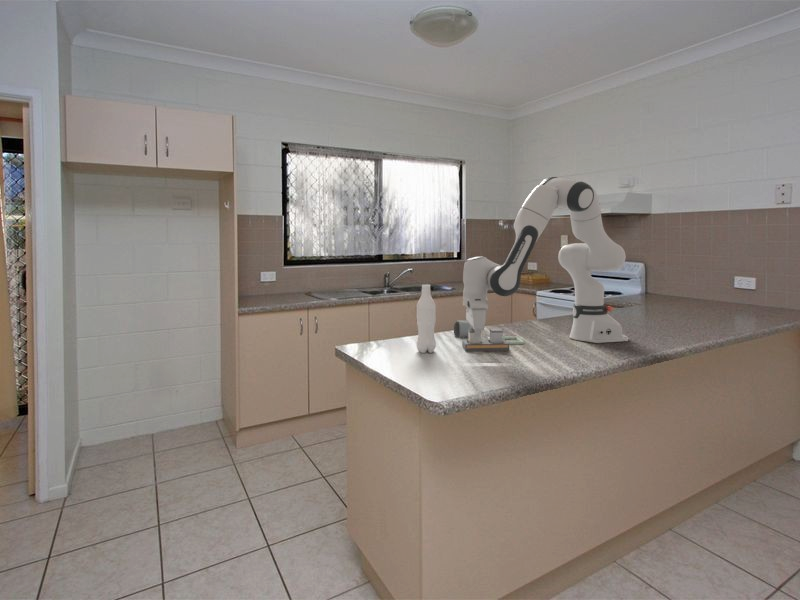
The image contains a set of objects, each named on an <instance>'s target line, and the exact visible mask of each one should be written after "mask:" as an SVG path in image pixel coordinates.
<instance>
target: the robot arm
mask: <svg viewBox="0 0 800 600" xmlns="http://www.w3.org/2000/svg"><path fill="white" fill-rule="evenodd" d="M556 209H559V210H565V211H569V218H570V223H571V231H572V234H573V236H574V237H575V239H577V240H579V241H581V243H580V242H579V243H578V242H577V243H576V242H575V243H568V244H565V245H563V246H562V247H561V248H560V250H559V251H558V256H557V259H558V263H559V265H560V266H561V267H562V268H563V269H564V270H566V272H568V274H569V276H570V278H571V280H572V282H573V286H574V303H573V306H572V307H573V308H572V316H573V318H572V326H571V330H570V334H569V338H570V339H572V340H575V341H582V342H589V343H595V344H602V343H603V344H605V343H616V342H617V343H618V342H629V337H628V336H627V335H625V334H623V327H622V325H621V323H620V322H618V320H616V319H614V317H612V316H611V315H610V314H609V313H608V312H611V313H612V311H613V307H612V306H609V305H608V306H607V305H606V304H605V303H604V301H605V299H604V297H605V287H604V285H603V283H601V281H599V280H597V279H596V278H594V277H593V276H592V275H591V271H594V272H595V271H596V272H597V271H599V272H609V271H617V270H619V269H621V268H622V267H623V266H624V264H625V263H626V259H627V258H626V252H625V248H623V247H622V245H620V244H618V243H616V242H614V241H613V239H612V238H610V237H609V235H608V234H607V232H606V231H605V228H604V224H603V219H602V211H601V205H600V201H599V197H598V193H597V191H596V189H595V188H594V187H592V186H591V185H590V184H588V183H587V182H584V181H579V180H576V179H572V178H564V177H557V176H551V177H547V178H545V179H543V180H542V181H541V182H540V184H539V185H537V186H535V187H534V188H533V190H531V192H530V193H528V196H527V197H526V199H525V200H524V202H523V204H522V205H521V207H520V208H519V210H518V212H517V215H516V217H515V220H514V223H513V229H514V232H515V240H514V244H513V246H512V247H511V250H510V252H509V253H508V255H507V257H506V260H505V261H504V263H503V264H498V263H496V262H494V261H492V260H490V259H488V258H487V257H486V256H481V255H480V256H474V257H470V258H468V259H466V260H465V261H464V264H463V265H464V266H463V271H462V272H463V273H462V283H463V290H462V306H464V307H466V310H465V311H466V312H465V319H466V320H465V321H467V322H468V323H469V327H470V329H474V331H475V335H474V340H475V341H479V340H480V333H481V334H482V331H484V330H485V327H486V318H487V310H488V308H489V303H488V291H493V292H494V293H495V294H496V295H498V296H499V297H509V296H512V295H513V294H515V293H516V292H517V291H518V289H519V288H520V284H521V279H522V278H521V277H522V272H523V269H524V266H525V265H526V263H527V261H528V259H529V256H530V254H531V252H532V251H533V249H534V246H535V244H536V243H537V241H538V239H539V238H540V236H541V235H542V233H543V232H544V230H545V229H546V227H547V225H548V223H549V221H550V220H551V217H552V215H553V214H554V212H555V211H554V210H556Z"/></svg>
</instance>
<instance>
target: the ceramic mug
mask: <svg viewBox="0 0 800 600" xmlns="http://www.w3.org/2000/svg"><path fill="white" fill-rule="evenodd" d="M468 329H470V327H469V323H468V322H467V320H456V321H455V322H454V325H453V335H454V337H455V338H468Z"/></svg>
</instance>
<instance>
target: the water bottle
mask: <svg viewBox="0 0 800 600" xmlns="http://www.w3.org/2000/svg"><path fill="white" fill-rule="evenodd" d="M431 291H432V289H431V285H430V284H422V285H421V290H420V292H421V294H420V297H419V299H418V302H417V303H416V307H415V308H416V325H417V330H418V334H417V341H416V348H417V351H418V352H419V353H422V354H426V352H428V353H429V354H432V353H433V352H434V351H435V349H436V347H437V343H436V338H435V325H436V322H437V321H436V318H437V316H436V314H437V313H436V312H437V311H436V309H437V306H436V303H435V301H434V299H433V297H432V295H431V294H432V293H431Z"/></svg>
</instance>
